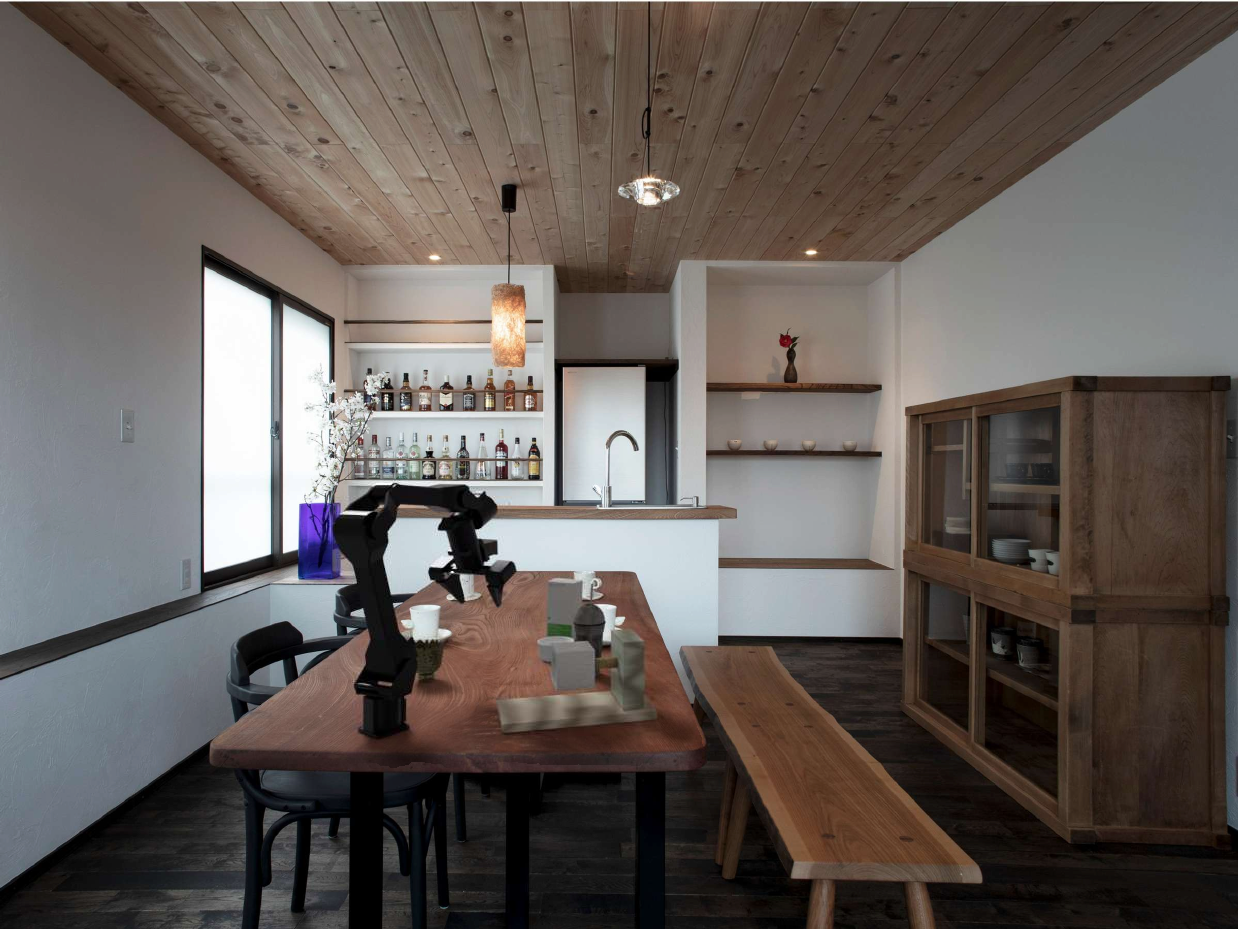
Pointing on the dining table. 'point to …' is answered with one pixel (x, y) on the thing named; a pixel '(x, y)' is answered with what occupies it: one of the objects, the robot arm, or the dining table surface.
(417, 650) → the cup
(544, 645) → the ramekin
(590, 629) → the beverage cup
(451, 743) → the dining table surface
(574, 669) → the grey cube
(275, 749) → the dining table surface
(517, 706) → the l-shaped wooden stand
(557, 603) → the skincare box
